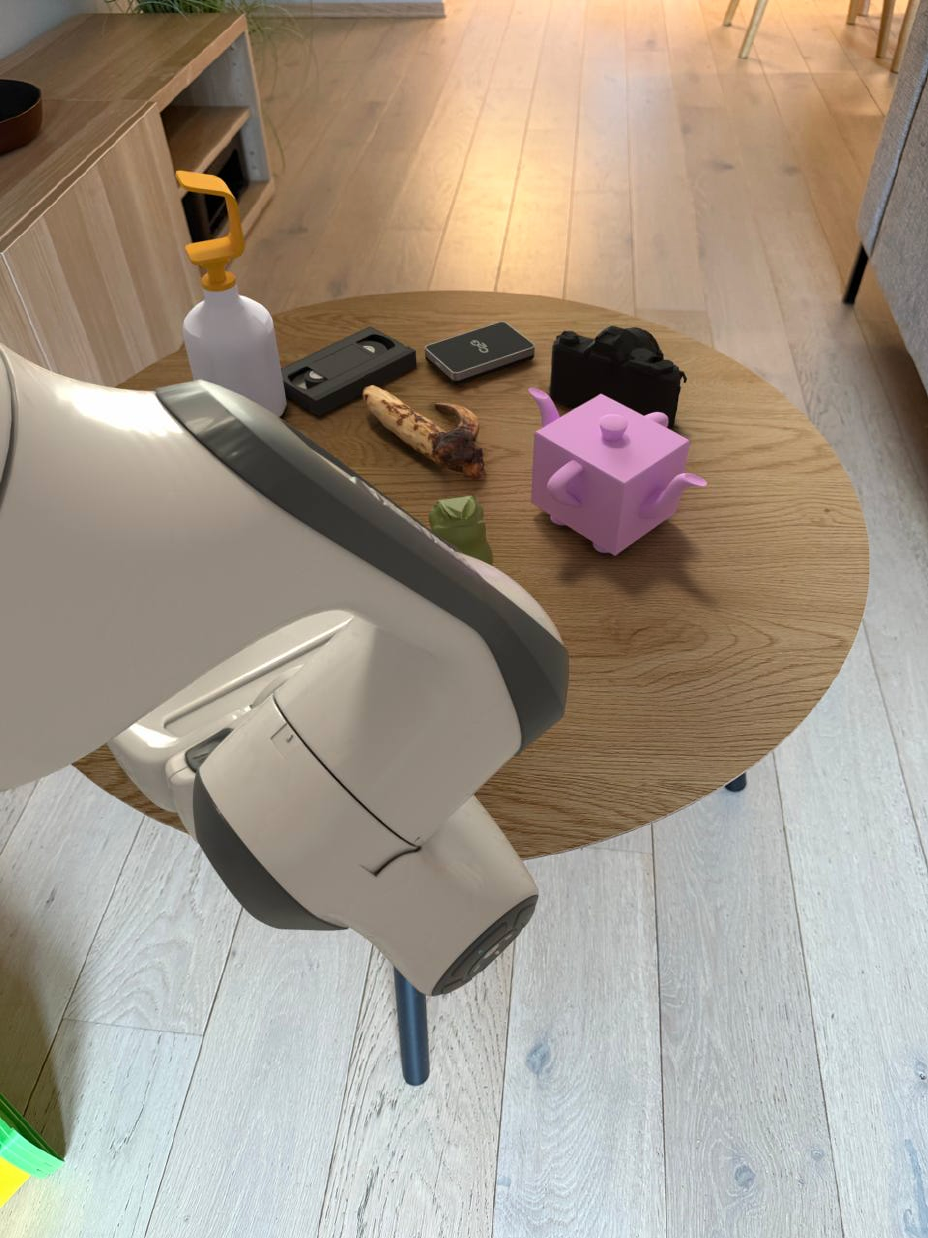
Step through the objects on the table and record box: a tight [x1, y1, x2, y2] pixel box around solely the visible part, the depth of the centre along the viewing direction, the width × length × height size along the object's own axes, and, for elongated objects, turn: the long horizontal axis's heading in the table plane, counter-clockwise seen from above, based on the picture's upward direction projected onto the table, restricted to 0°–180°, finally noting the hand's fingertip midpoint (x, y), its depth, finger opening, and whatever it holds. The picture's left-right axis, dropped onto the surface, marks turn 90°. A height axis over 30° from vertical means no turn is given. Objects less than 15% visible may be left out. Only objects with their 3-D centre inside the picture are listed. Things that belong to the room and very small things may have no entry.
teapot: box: [528, 387, 708, 556], centre depth 85 cm, size 15×13×11 cm
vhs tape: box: [281, 326, 417, 417], centre depth 106 cm, size 14×8×2 cm, turn 135°
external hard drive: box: [424, 321, 536, 386], centre depth 107 cm, size 7×11×2 cm, turn 122°
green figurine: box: [428, 494, 494, 567], centre depth 79 cm, size 6×5×10 cm
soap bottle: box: [174, 170, 288, 418], centre depth 93 cm, size 9×9×25 cm
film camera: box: [548, 325, 688, 431], centre depth 99 cm, size 15×10×9 cm, turn 56°
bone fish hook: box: [362, 385, 487, 481], centre depth 96 cm, size 9×5×18 cm
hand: (215, 604), depth 62 cm, fingers closed on pill bottle, 6 cm apart
